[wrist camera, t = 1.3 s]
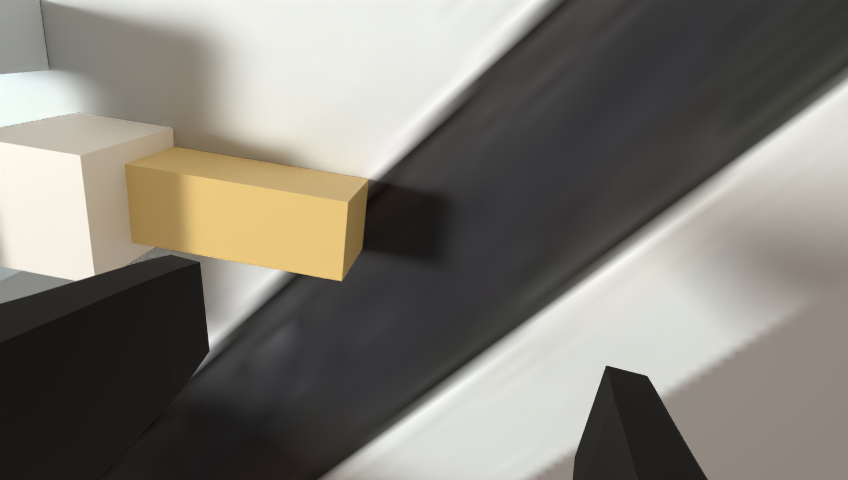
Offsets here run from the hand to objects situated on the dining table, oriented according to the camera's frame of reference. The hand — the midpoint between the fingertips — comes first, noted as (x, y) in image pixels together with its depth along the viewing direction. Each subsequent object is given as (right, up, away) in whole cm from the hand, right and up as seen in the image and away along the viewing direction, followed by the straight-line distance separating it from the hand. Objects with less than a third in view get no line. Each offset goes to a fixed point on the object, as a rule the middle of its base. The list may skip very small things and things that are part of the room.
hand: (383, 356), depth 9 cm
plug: (-8, +4, +12) cm, 15 cm away
